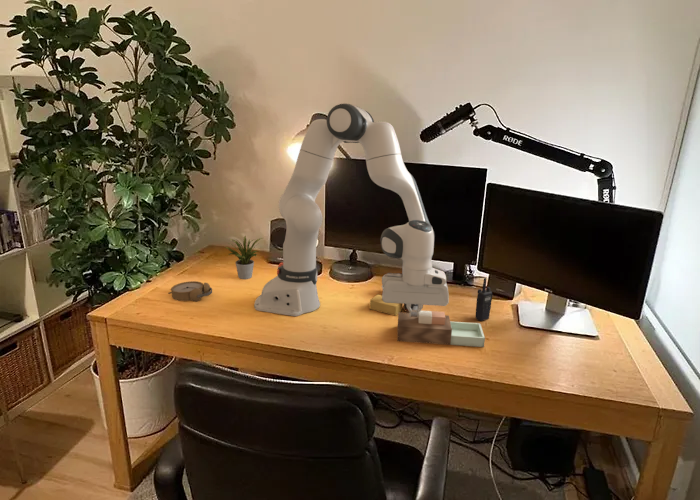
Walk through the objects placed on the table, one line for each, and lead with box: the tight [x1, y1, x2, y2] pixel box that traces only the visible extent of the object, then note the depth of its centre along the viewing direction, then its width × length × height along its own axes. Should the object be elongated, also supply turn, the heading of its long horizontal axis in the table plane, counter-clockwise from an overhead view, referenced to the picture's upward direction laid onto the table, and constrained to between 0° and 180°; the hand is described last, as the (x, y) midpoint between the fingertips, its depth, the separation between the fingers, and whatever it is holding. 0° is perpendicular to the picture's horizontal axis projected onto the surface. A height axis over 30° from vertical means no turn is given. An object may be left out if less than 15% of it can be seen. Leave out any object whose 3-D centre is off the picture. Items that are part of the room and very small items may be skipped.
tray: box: [450, 320, 486, 348], centre depth 167 cm, size 10×10×3 cm
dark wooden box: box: [396, 311, 452, 346], centre depth 167 cm, size 16×10×5 cm, turn 85°
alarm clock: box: [168, 280, 213, 303], centre depth 191 cm, size 11×5×15 cm
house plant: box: [224, 235, 263, 280], centre depth 209 cm, size 14×14×16 cm
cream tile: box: [418, 310, 433, 324], centre depth 166 cm, size 4×4×2 cm
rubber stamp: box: [369, 286, 404, 316], centre depth 184 cm, size 10×6×12 cm, turn 62°
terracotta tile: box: [431, 310, 446, 325], centre depth 166 cm, size 4×4×2 cm
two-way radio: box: [474, 277, 493, 322], centre depth 179 cm, size 6×4×15 cm
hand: (413, 316), depth 166 cm, fingers closed
